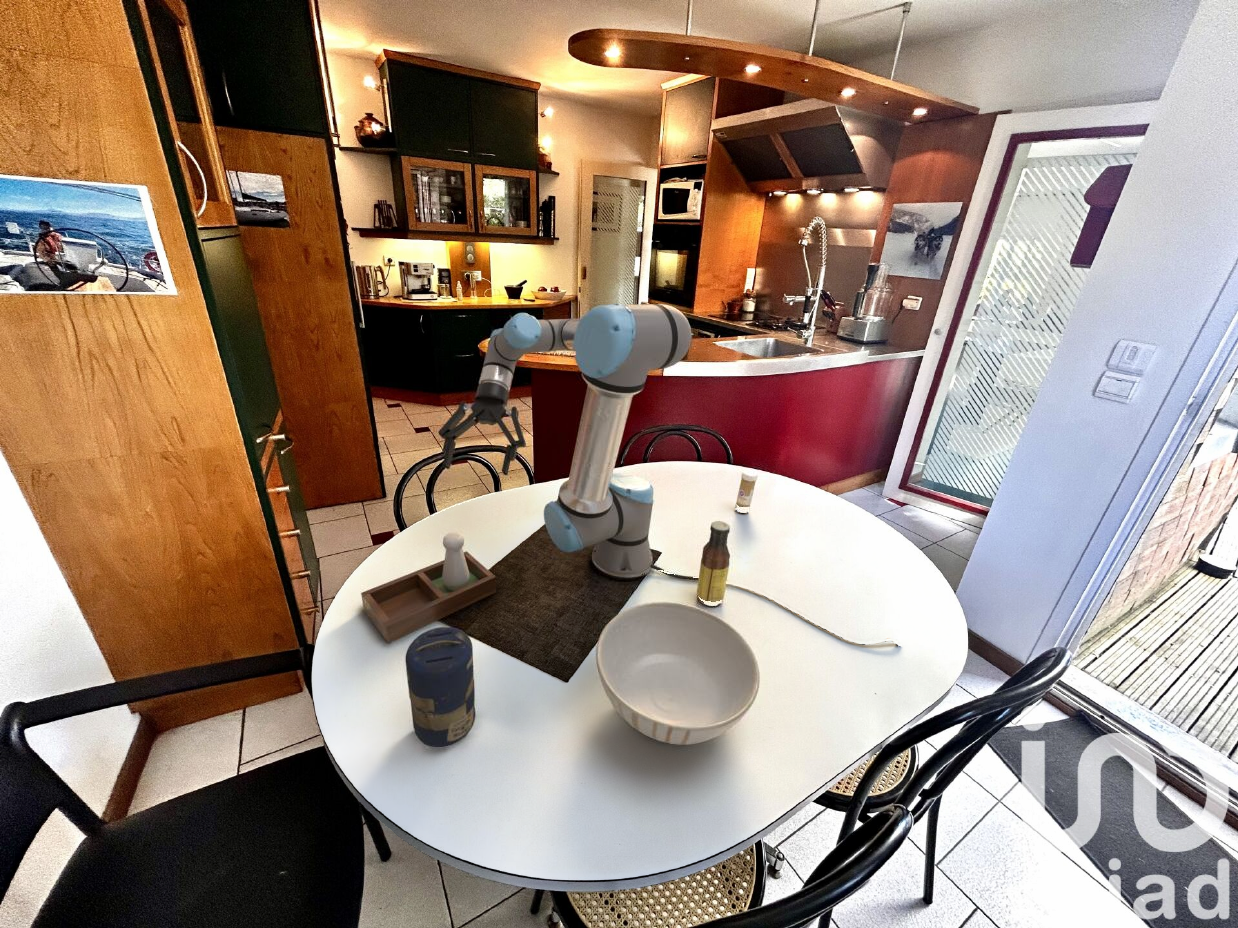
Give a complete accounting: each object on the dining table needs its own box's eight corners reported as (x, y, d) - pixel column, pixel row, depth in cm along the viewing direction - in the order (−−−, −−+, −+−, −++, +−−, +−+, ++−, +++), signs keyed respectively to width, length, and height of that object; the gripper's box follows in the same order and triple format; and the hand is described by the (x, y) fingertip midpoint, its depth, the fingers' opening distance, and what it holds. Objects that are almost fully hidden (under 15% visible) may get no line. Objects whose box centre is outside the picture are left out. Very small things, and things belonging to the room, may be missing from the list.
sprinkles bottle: (731, 510, 153) (739, 472, 147) (738, 505, 156) (746, 467, 150) (745, 516, 150) (754, 477, 145) (751, 511, 153) (760, 472, 148)
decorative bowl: (630, 811, 70) (639, 755, 65) (571, 669, 92) (574, 619, 87) (778, 750, 80) (796, 697, 75) (693, 635, 102) (702, 589, 97)
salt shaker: (461, 596, 106) (458, 546, 100) (437, 591, 106) (432, 540, 101) (474, 580, 111) (472, 531, 105) (451, 575, 112) (448, 526, 106)
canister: (423, 699, 83) (414, 617, 76) (481, 699, 84) (477, 617, 77) (406, 753, 74) (393, 666, 67) (470, 752, 75) (464, 666, 68)
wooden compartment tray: (496, 592, 109) (495, 576, 108) (388, 643, 93) (386, 626, 92) (467, 565, 117) (466, 550, 115) (363, 609, 101) (360, 592, 99)
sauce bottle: (725, 596, 115) (741, 523, 106) (718, 612, 109) (734, 536, 101) (698, 586, 117) (712, 515, 109) (690, 602, 112) (704, 527, 104)
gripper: (546, 401, 122) (531, 481, 115) (448, 391, 123) (427, 469, 116) (542, 386, 115) (526, 470, 108) (438, 375, 116) (415, 458, 109)
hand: (475, 470), depth 112 cm, fingers open, 13 cm apart
